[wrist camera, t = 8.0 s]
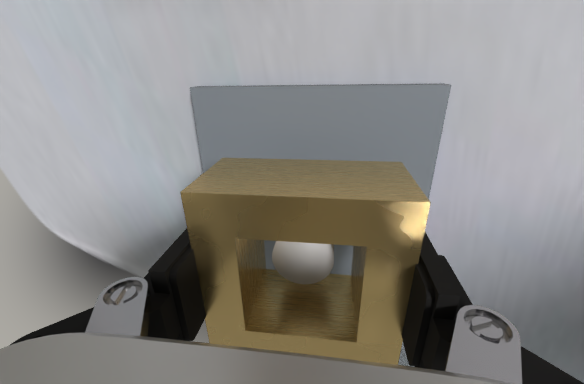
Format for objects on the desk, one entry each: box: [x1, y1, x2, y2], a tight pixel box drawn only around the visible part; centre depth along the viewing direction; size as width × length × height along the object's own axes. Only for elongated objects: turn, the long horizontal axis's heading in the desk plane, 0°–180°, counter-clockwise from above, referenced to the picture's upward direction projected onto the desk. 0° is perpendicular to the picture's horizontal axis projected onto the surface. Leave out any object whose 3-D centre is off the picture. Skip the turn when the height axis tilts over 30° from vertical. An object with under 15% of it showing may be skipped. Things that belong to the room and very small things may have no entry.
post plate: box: [190, 84, 451, 284], centre depth 14 cm, size 12×12×6 cm
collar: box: [180, 158, 431, 365], centre depth 11 cm, size 7×7×4 cm
